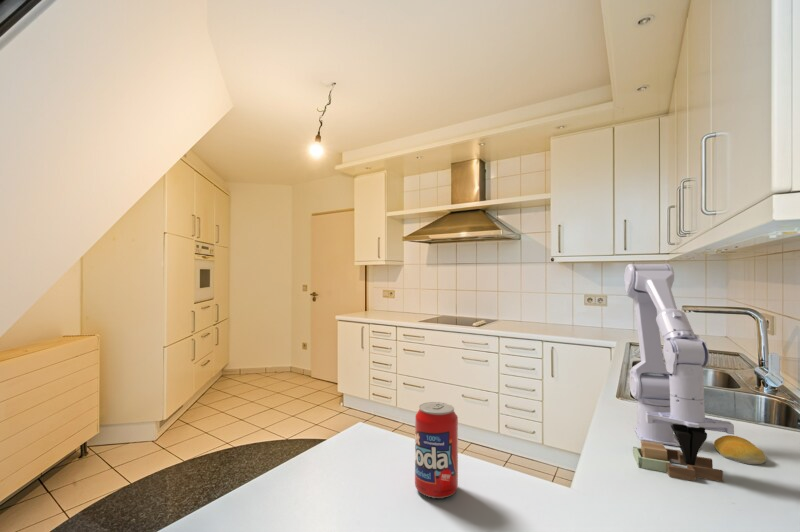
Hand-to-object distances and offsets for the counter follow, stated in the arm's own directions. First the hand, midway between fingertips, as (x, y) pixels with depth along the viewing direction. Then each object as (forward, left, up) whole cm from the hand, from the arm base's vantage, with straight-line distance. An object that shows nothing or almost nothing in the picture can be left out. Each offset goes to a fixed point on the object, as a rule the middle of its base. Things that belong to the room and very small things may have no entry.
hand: (689, 463), depth 77 cm
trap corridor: (0, -2, -1) cm, 3 cm away
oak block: (0, -6, -2) cm, 6 cm away
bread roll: (-13, +12, -2) cm, 18 cm away
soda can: (+29, -45, -2) cm, 54 cm away
